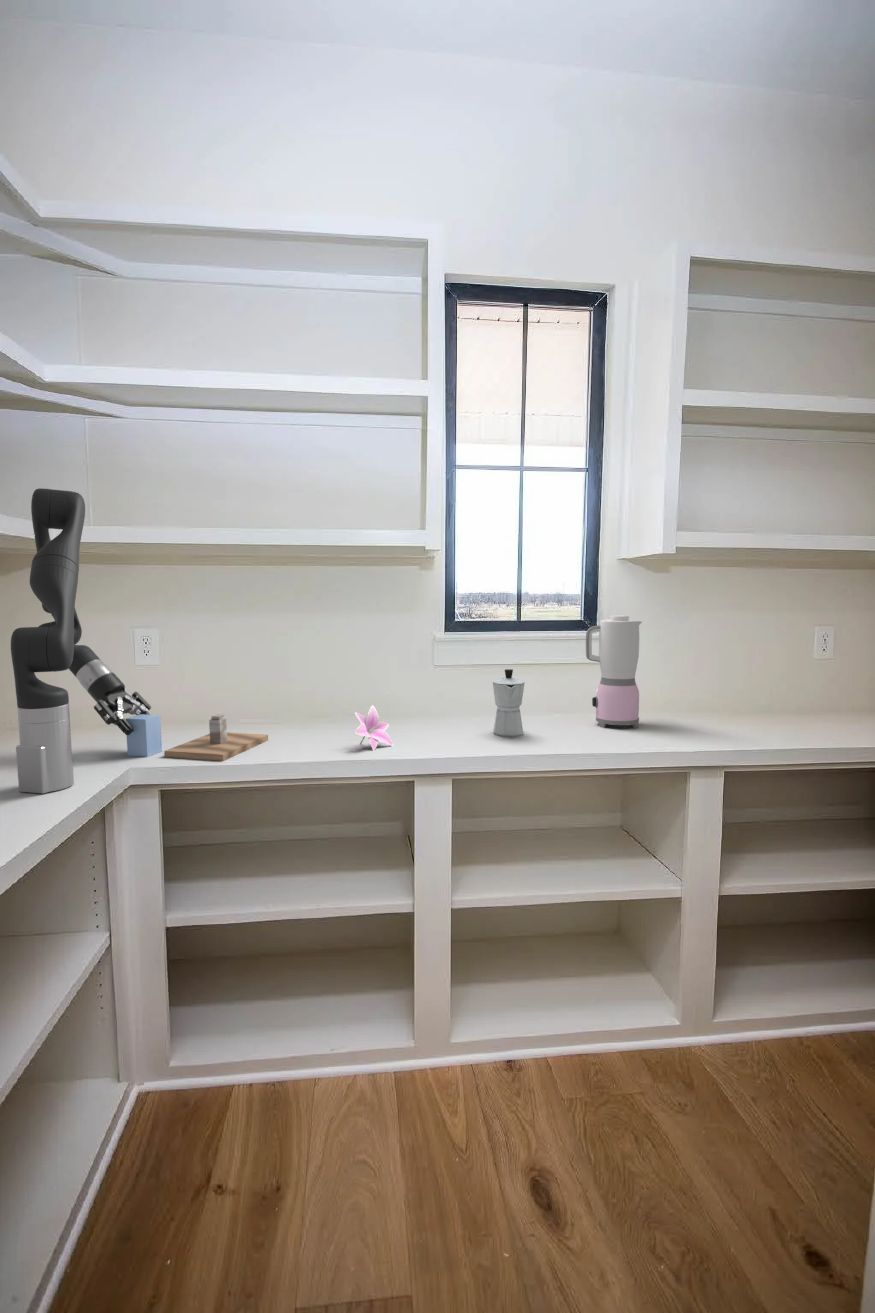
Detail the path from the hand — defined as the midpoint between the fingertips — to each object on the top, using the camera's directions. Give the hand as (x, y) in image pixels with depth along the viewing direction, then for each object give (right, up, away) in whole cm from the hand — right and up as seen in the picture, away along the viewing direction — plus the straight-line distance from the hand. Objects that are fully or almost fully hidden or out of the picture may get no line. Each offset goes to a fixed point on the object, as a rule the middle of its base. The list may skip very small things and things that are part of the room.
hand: (142, 729), depth 170 cm
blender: (+124, -2, +32) cm, 128 cm away
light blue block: (0, -6, 0) cm, 6 cm away
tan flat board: (+17, -5, +5) cm, 19 cm away
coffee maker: (+93, -3, +22) cm, 95 cm away
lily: (+56, -5, +7) cm, 57 cm away
